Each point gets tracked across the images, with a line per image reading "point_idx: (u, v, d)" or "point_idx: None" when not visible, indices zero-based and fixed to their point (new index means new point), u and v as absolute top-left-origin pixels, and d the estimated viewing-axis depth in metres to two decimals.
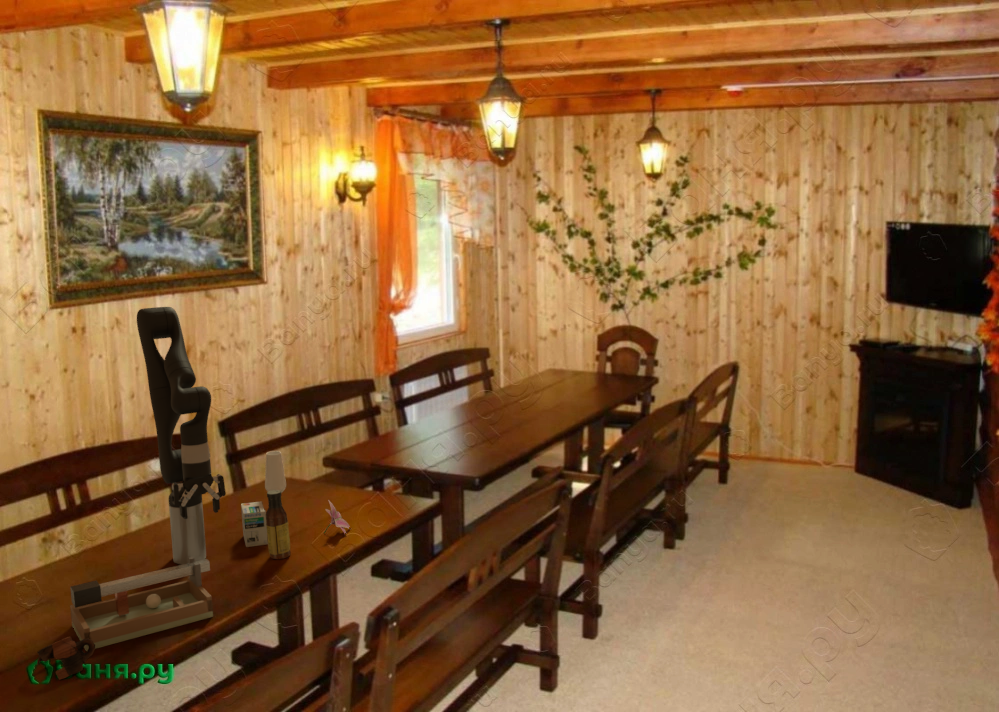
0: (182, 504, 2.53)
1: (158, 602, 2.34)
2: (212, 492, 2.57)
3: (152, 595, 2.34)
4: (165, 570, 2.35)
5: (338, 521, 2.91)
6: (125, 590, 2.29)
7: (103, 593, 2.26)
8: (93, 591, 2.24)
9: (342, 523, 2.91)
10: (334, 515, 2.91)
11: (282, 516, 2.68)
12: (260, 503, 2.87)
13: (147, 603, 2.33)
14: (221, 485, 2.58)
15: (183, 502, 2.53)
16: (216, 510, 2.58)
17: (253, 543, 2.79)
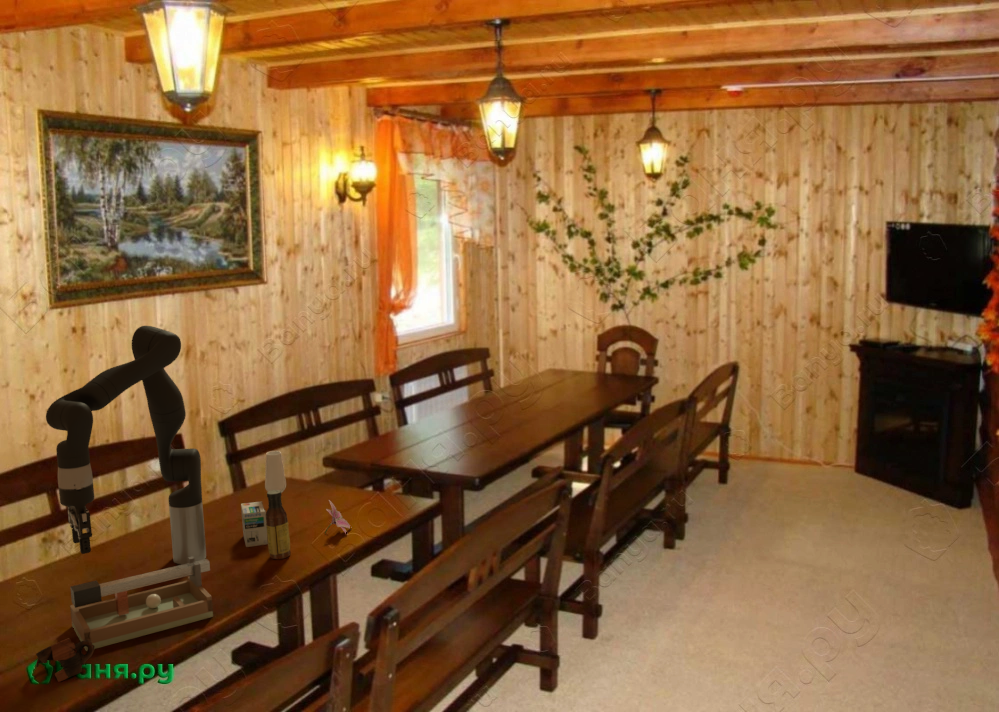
0: None
1: (158, 602, 2.34)
2: None
3: (152, 595, 2.34)
4: (165, 570, 2.35)
5: (339, 521, 2.91)
6: (125, 590, 2.29)
7: (103, 593, 2.26)
8: (93, 591, 2.24)
9: (343, 523, 2.91)
10: (335, 515, 2.91)
11: (282, 516, 2.68)
12: (259, 503, 2.87)
13: (147, 603, 2.33)
14: None
15: None
16: None
17: (253, 543, 2.79)
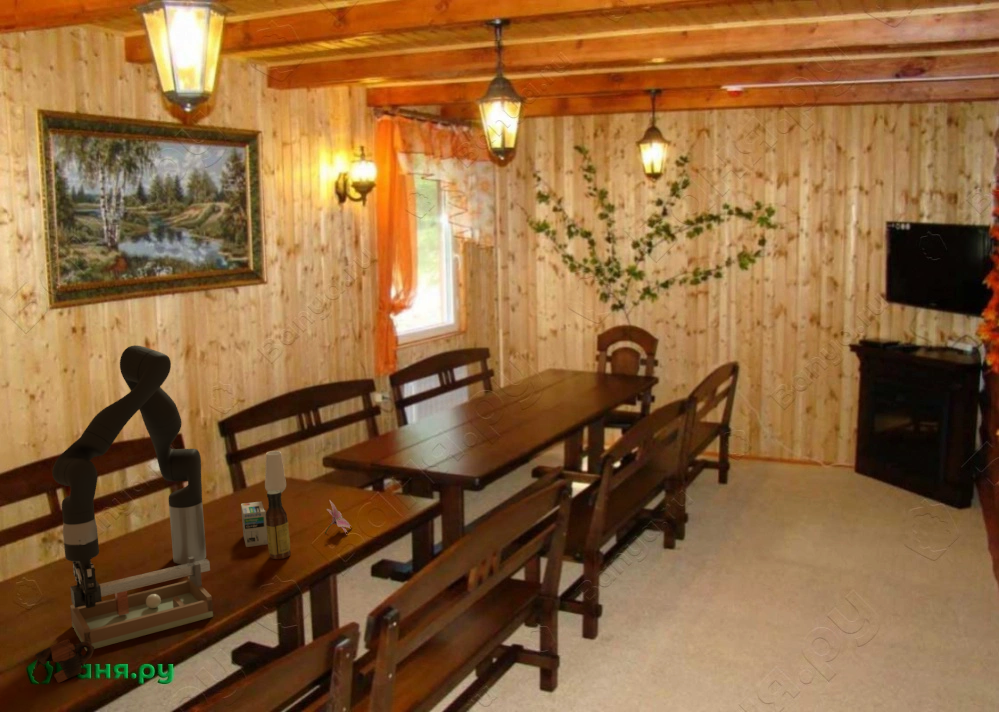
0: None
1: (158, 602, 2.34)
2: None
3: (152, 595, 2.34)
4: (165, 570, 2.35)
5: (339, 521, 2.91)
6: (125, 590, 2.29)
7: (103, 593, 2.26)
8: None
9: (343, 523, 2.91)
10: (335, 515, 2.91)
11: (282, 516, 2.68)
12: (260, 503, 2.87)
13: (147, 603, 2.33)
14: None
15: None
16: None
17: (253, 543, 2.79)
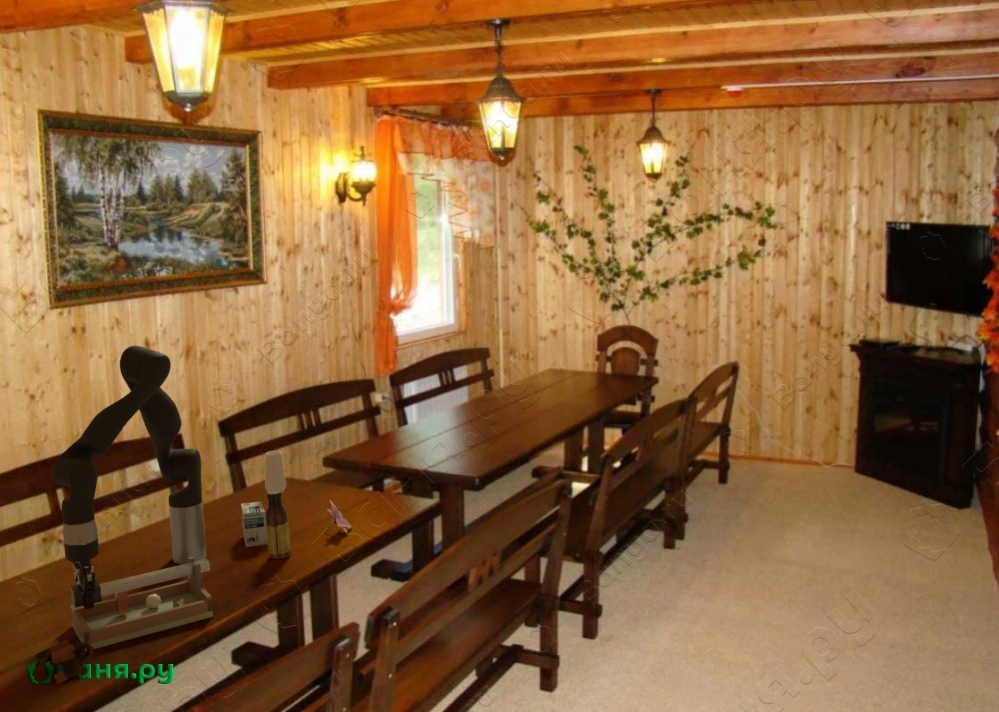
0: None
1: (158, 602, 2.34)
2: None
3: (152, 595, 2.34)
4: (165, 570, 2.35)
5: (339, 521, 2.91)
6: (125, 590, 2.29)
7: (103, 593, 2.26)
8: None
9: (343, 523, 2.91)
10: (335, 515, 2.91)
11: (282, 516, 2.68)
12: (259, 503, 2.87)
13: (147, 603, 2.33)
14: None
15: None
16: None
17: (253, 543, 2.79)
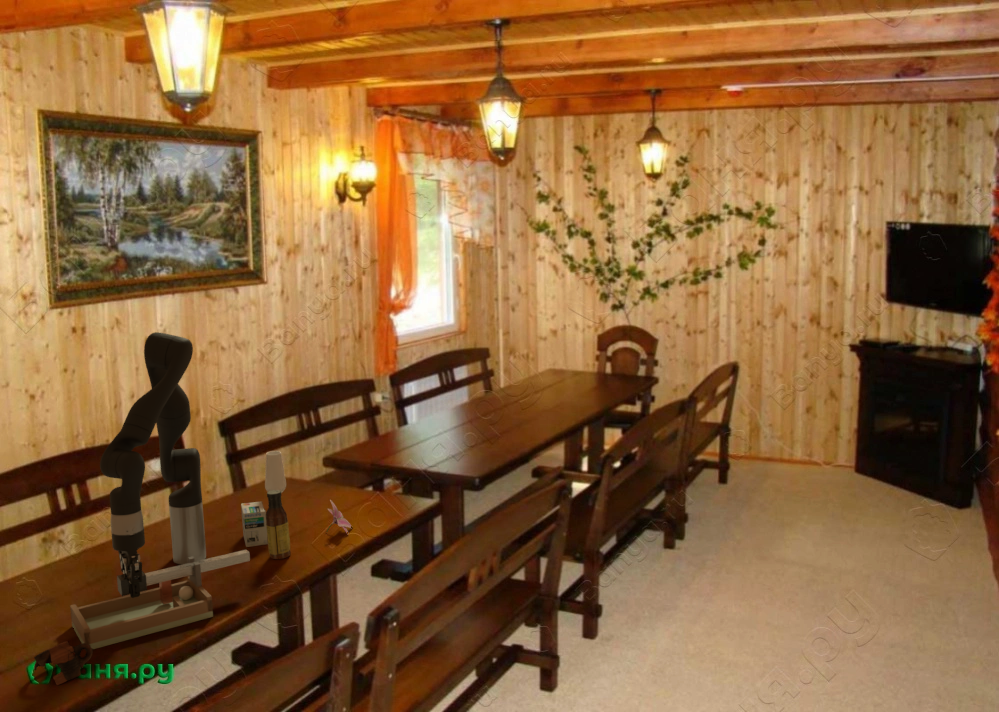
0: None
1: (186, 592, 2.38)
2: None
3: (180, 597, 2.38)
4: (207, 560, 2.42)
5: (340, 521, 2.91)
6: (169, 579, 2.35)
7: (148, 582, 2.32)
8: None
9: (344, 523, 2.91)
10: (336, 515, 2.91)
11: (282, 516, 2.68)
12: (260, 503, 2.87)
13: (189, 598, 2.39)
14: None
15: None
16: None
17: (253, 543, 2.79)
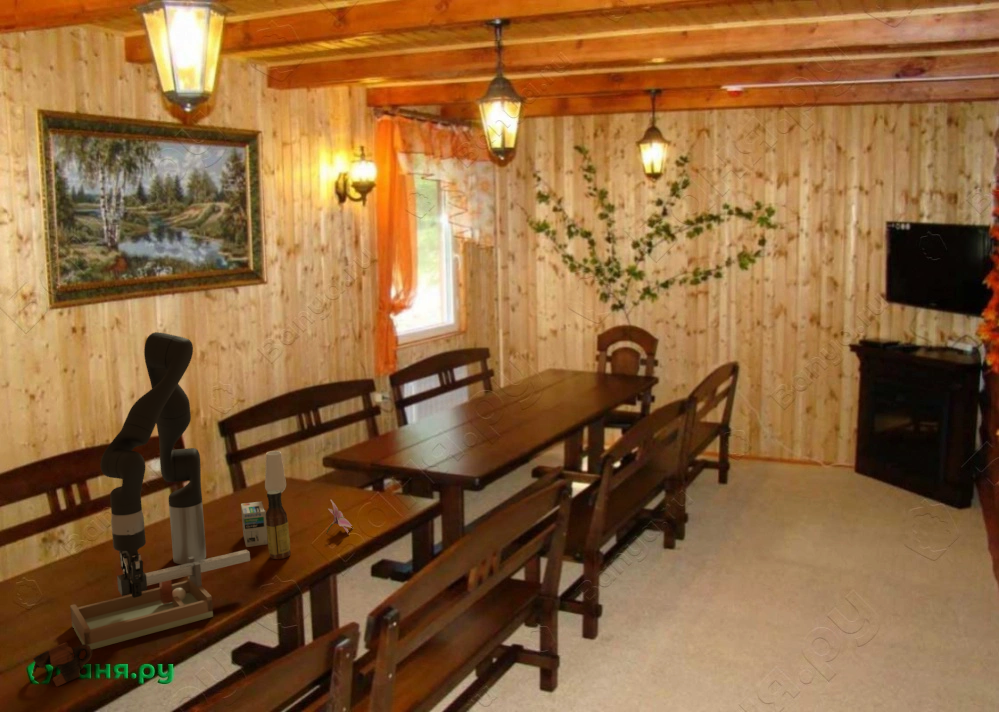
0: None
1: None
2: None
3: None
4: (207, 560, 2.42)
5: (340, 520, 2.91)
6: (169, 579, 2.35)
7: (149, 582, 2.32)
8: None
9: (344, 523, 2.91)
10: (336, 514, 2.91)
11: (282, 516, 2.68)
12: (259, 503, 2.87)
13: (185, 595, 2.39)
14: None
15: None
16: None
17: (253, 543, 2.79)
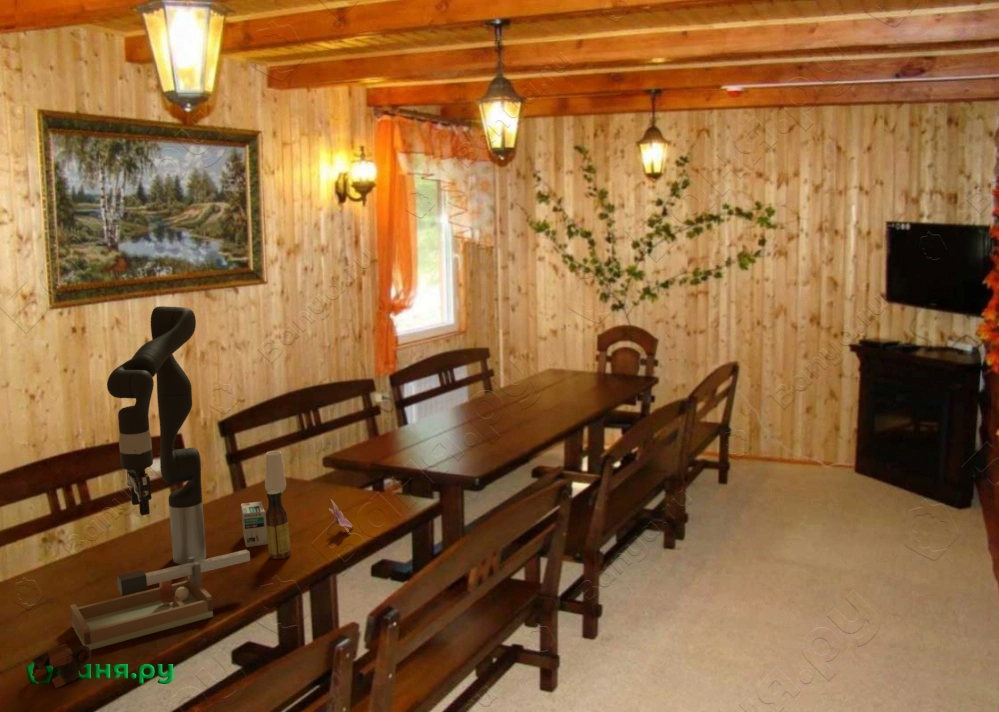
0: None
1: (181, 594, 2.37)
2: None
3: None
4: (207, 560, 2.42)
5: (341, 520, 2.91)
6: (169, 579, 2.35)
7: (149, 582, 2.32)
8: (139, 580, 2.30)
9: (345, 523, 2.91)
10: (337, 514, 2.91)
11: (282, 516, 2.68)
12: (259, 503, 2.87)
13: None
14: None
15: None
16: None
17: (253, 543, 2.79)
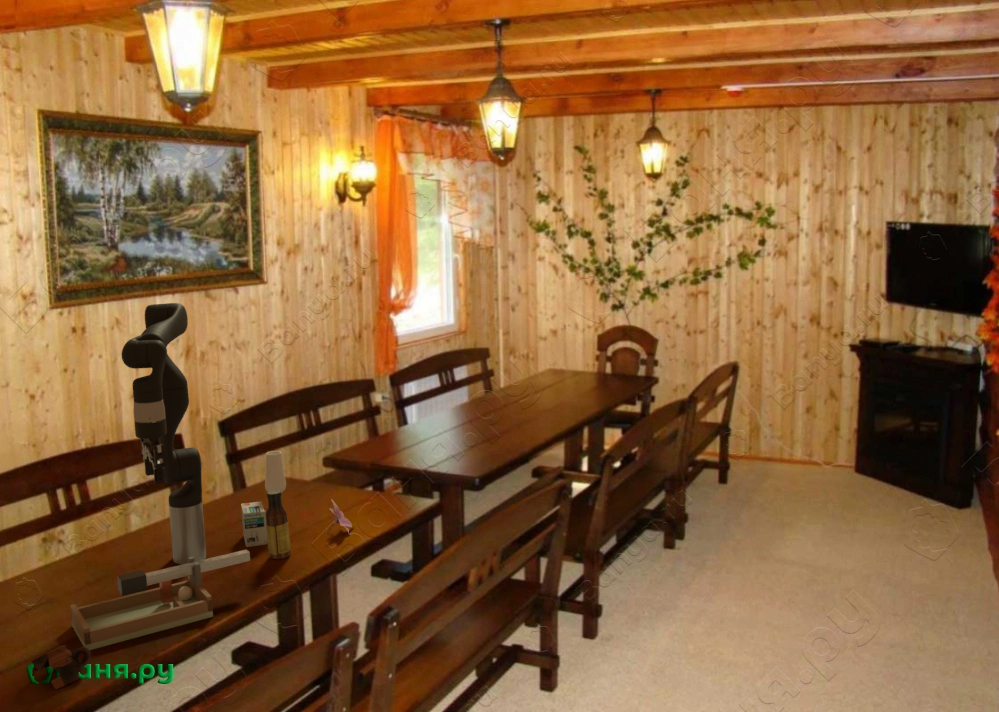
0: None
1: (185, 592, 2.38)
2: None
3: (180, 598, 2.38)
4: (207, 560, 2.42)
5: (341, 520, 2.92)
6: (169, 579, 2.35)
7: (149, 582, 2.32)
8: (139, 580, 2.30)
9: (345, 522, 2.92)
10: (337, 514, 2.91)
11: (282, 516, 2.68)
12: (260, 503, 2.87)
13: (189, 598, 2.39)
14: None
15: None
16: (154, 471, 2.42)
17: (253, 543, 2.79)
